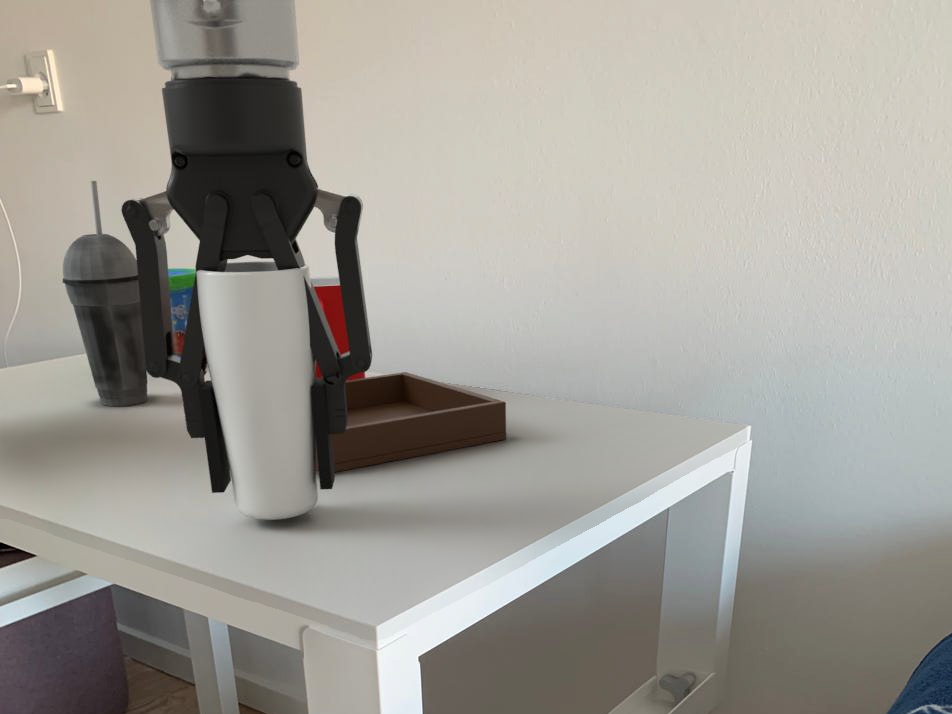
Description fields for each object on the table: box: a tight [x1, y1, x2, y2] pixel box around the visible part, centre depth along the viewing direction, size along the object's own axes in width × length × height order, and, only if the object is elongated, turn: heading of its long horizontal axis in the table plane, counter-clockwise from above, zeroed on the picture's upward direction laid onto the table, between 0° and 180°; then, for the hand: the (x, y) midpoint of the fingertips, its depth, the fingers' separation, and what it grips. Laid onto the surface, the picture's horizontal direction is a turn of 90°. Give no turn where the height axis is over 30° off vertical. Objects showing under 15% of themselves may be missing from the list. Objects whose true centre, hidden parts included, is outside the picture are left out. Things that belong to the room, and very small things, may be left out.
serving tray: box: [316, 371, 507, 473], centre depth 85 cm, size 17×17×3 cm
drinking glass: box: [195, 260, 319, 521], centre depth 62 cm, size 7×7×15 cm
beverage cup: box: [62, 180, 149, 407], centre depth 96 cm, size 7×7×20 cm
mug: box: [310, 275, 366, 381], centre depth 98 cm, size 12×8×11 cm
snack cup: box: [168, 267, 196, 358], centre depth 116 cm, size 16×10×10 cm
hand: (274, 484), depth 65 cm, fingers closed on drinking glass, 6 cm apart
